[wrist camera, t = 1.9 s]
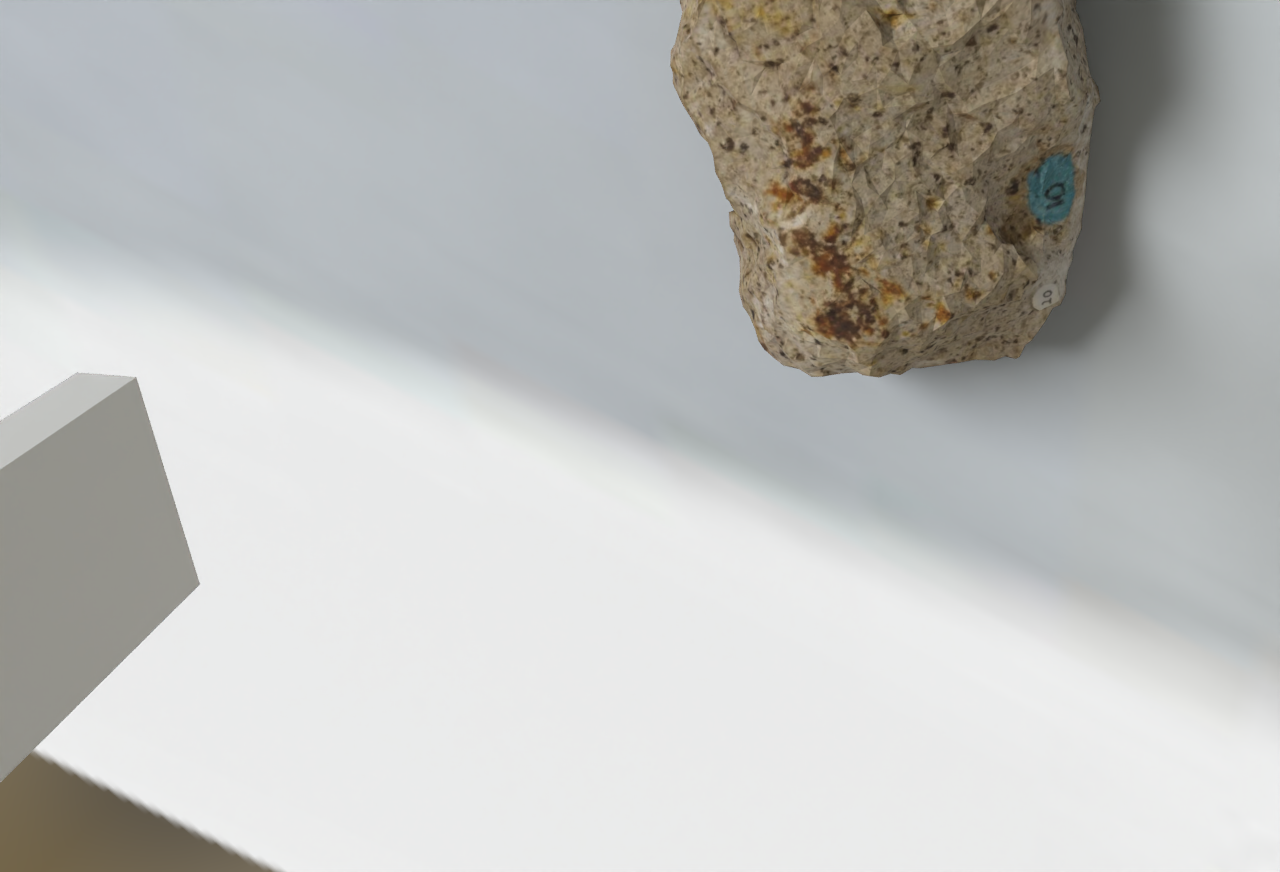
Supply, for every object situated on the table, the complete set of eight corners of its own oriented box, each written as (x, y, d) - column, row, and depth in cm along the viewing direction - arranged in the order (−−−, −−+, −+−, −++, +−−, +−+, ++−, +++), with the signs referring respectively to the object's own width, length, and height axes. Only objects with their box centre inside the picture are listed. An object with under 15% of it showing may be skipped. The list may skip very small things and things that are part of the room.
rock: (776, 352, 28) (743, 441, 24) (662, -136, 23) (600, -117, 19) (1110, 308, 25) (1130, 401, 21) (1061, -256, 20) (1077, -260, 17)
